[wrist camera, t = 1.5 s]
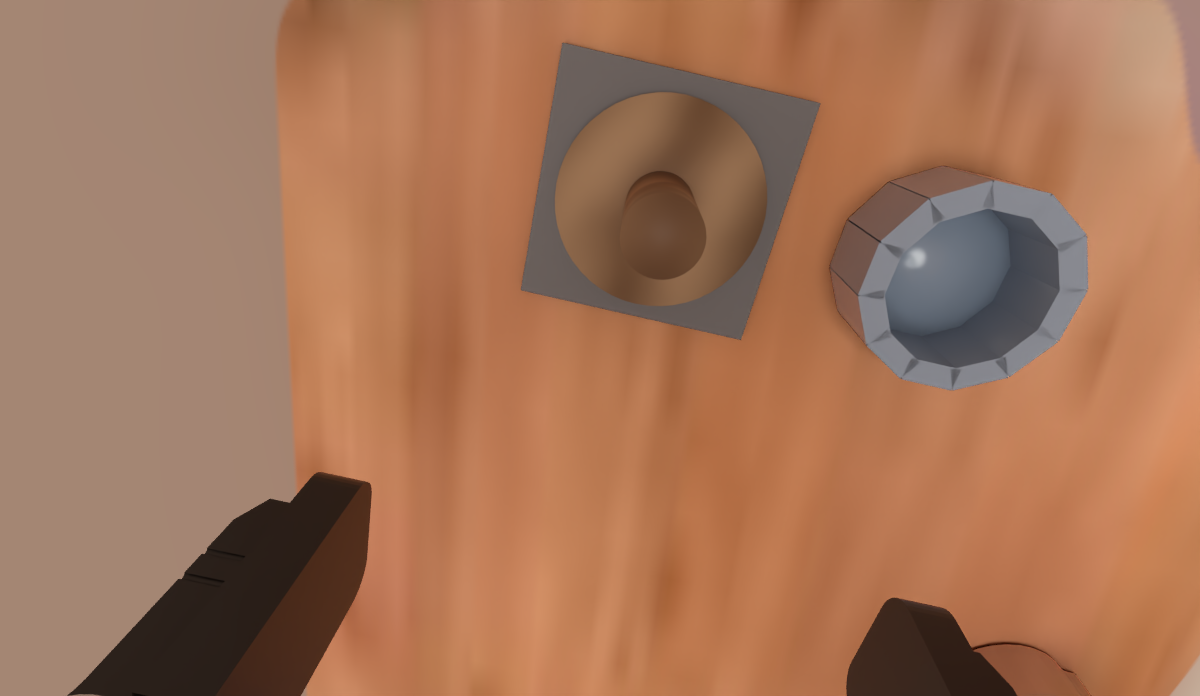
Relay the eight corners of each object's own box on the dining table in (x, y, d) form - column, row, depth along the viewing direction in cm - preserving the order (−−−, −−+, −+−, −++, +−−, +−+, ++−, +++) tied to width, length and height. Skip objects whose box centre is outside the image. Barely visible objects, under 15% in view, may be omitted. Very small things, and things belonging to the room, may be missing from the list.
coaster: (818, 103, 31) (820, 103, 30) (739, 336, 36) (740, 340, 35) (563, 43, 30) (562, 42, 30) (522, 287, 36) (520, 290, 35)
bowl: (1061, 193, 31) (1132, 212, 27) (973, 364, 36) (1021, 406, 31) (874, 149, 31) (913, 161, 27) (806, 326, 35) (829, 363, 31)
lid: (794, 119, 31) (839, 131, 23) (729, 320, 35) (750, 381, 28) (578, 69, 30) (557, 65, 23) (540, 277, 35) (513, 328, 28)
